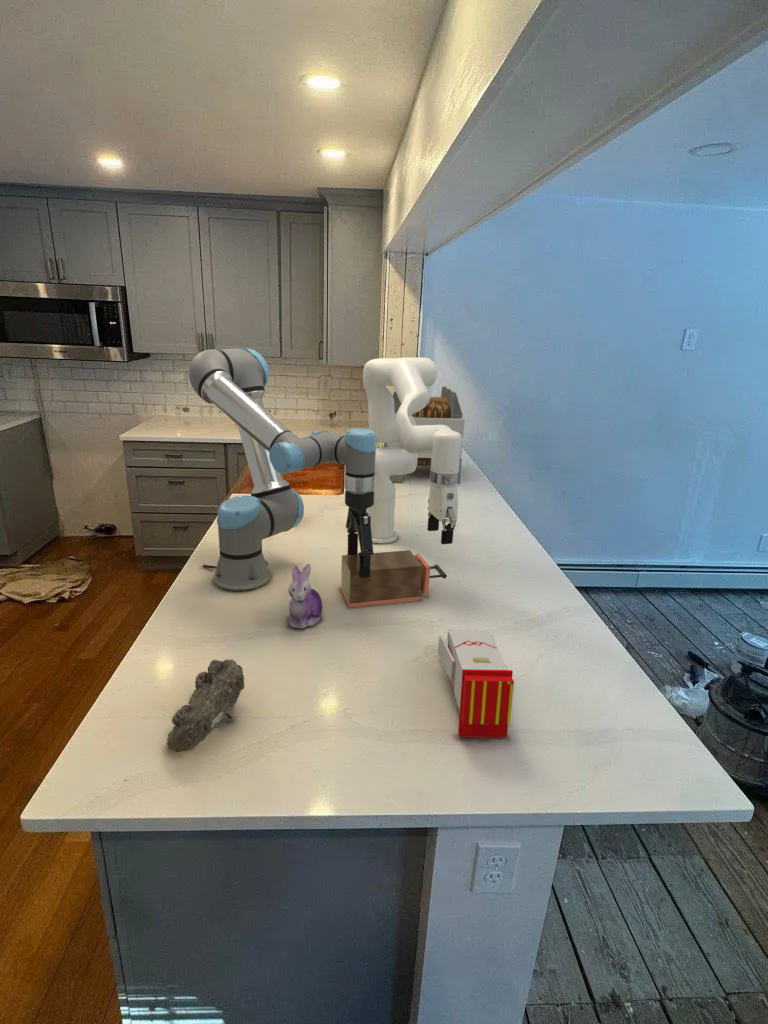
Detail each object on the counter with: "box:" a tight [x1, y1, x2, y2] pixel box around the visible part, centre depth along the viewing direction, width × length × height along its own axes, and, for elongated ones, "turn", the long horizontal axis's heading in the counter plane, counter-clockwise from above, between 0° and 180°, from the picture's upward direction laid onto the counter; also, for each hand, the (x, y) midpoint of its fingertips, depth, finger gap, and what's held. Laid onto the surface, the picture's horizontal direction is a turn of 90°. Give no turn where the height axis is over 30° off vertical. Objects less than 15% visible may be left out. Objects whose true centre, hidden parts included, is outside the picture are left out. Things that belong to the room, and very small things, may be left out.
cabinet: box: [340, 549, 422, 608], centre depth 155 cm, size 20×11×10 cm, turn 106°
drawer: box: [414, 553, 448, 596], centre depth 157 cm, size 24×9×8 cm, turn 106°
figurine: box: [288, 563, 323, 629], centre depth 140 cm, size 9×10×15 cm
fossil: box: [166, 658, 245, 754], centre depth 106 cm, size 22×10×15 cm
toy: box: [437, 628, 515, 738], centre depth 117 cm, size 12×13×30 cm
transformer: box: [383, 386, 465, 484], centre depth 268 cm, size 34×33×41 cm
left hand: (358, 566), depth 152 cm, fingers open, 13 cm apart
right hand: (439, 536), depth 157 cm, fingers open, 9 cm apart
